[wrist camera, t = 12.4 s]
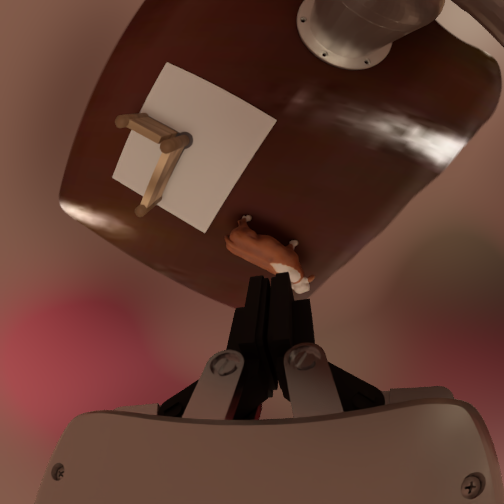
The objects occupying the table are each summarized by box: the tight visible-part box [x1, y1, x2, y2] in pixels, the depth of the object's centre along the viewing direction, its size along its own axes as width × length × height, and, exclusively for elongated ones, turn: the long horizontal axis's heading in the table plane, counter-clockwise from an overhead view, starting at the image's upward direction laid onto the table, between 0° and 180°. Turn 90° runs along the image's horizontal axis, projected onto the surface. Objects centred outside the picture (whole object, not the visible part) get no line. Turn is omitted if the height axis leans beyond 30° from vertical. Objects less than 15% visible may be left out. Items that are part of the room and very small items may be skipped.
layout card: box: [112, 62, 277, 233], centre depth 35 cm, size 19×17×1 cm
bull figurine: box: [224, 215, 315, 294], centre depth 37 cm, size 4×13×8 cm, turn 58°
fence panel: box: [135, 135, 189, 217], centre depth 34 cm, size 11×2×6 cm, turn 150°
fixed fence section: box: [115, 113, 178, 144], centre depth 31 cm, size 2×6×6 cm, turn 58°
